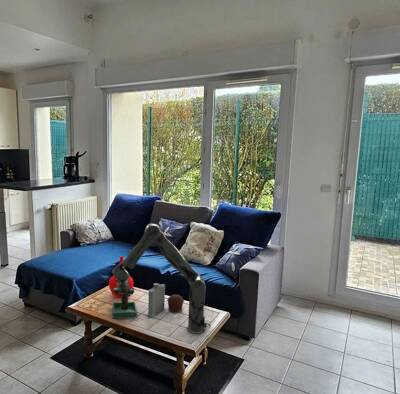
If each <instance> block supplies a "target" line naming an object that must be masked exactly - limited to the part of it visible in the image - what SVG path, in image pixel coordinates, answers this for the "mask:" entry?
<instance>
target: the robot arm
mask: <svg viewBox="0 0 400 394" xmlns="http://www.w3.org/2000/svg"><path fill="white" fill-rule="evenodd" d="M153 244H155V245H156V246H157V248H158V249H159V250H160V252H161V254H162V256H163V257H164V259H165V260H166V261H167V262H168V263H169V265H170V266H171V267H172V268H173V269H174V270H175V271H177V272H178V273H180V274H181V275H182V276H183V277H184V279H186V281H187V282H188V284H189V298H188V315H187V316H188V317H187V318H188V319H187V330H188V331H189V332H190V333H191V334H201V333H203V332H205V328H207V327H209V328H210V327H211V324H210V323H208V322H207V320H206V318H205V302H206V292H207V289H206V288H207V287H206V281H205V279H204V277H202V275H200V274H199V273H198V271H196V270H195V269H194V268H193V267H192V265H191V264H190V262H188V260H187V259H186V257H185V256H184V255H183V254H182V253H181V251H180V250H179V249H178V248H177V247H176V246H175V245H174V244H173V243H172V242H171V241H170V240H169V239H168V238H167V236H165V234H164V233H163V231H162V230H161V228H160V226H159V225H158V224H157V223H148V224H147V225H146V227H145V229H144V234H143V236H142V237H141V239H140V240H139V241H138V242H137V244H136V245H135V246H134V247H133V248H132V249H131V250H130V252H129V253H128V254H127V256H126V257H125V258H124V259H123V261H122V262H121V263H120V262H119V264H117V265H115V267H114V268H113V269H112V272H111V274H112V276H115V277H116V281H117V288H116V287H114V290H113V291H114V292H115V293H116V294H119V296H121V294H122V293H126V294H128V298H130V297H131V296H133V295H134V293H135V287H133V288H132V289H130V287H129V282H128V279H129V277H131V276H130V273H129V272H128V270H126V268H128V269H130V270H132V269H133V268H134V267H135V266H136V265H137V264H138V262H139V261H140V260H141V258H142V257H143V255H144V254H145V253H146V251H147V250H148V249H149V248H150V246H151V245H153ZM125 267H126V268H125Z"/></svg>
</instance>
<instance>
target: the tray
mask: <svg viewBox="0 0 400 394" xmlns="http://www.w3.org/2000/svg"><path fill="white" fill-rule="evenodd" d="M112 317H113V319H129V318H138V311H137V306H136V302H135V301H128V309H127V310H122V309H121V301H119V302H112Z"/></svg>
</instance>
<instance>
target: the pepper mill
mask: <svg viewBox="0 0 400 394" xmlns="http://www.w3.org/2000/svg"><path fill="white" fill-rule="evenodd" d="M120 302H121V309H122V310H127V309H128V302H129V297H128V294H126V293H122V294H121V298H120Z"/></svg>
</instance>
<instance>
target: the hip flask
mask: <svg viewBox="0 0 400 394" xmlns="http://www.w3.org/2000/svg"><path fill="white" fill-rule="evenodd" d="M165 298H166V284H164V283H161V284H160V283H158V282H155V283H153V287H152V288H150V289H148V303H147V304H148V305H147V307H148V308H147V312H148V313H147V317H148V318H153V317H155V315H156V314H159V313H161V312H162V311H164V310H165V302H166V301H165Z"/></svg>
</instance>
